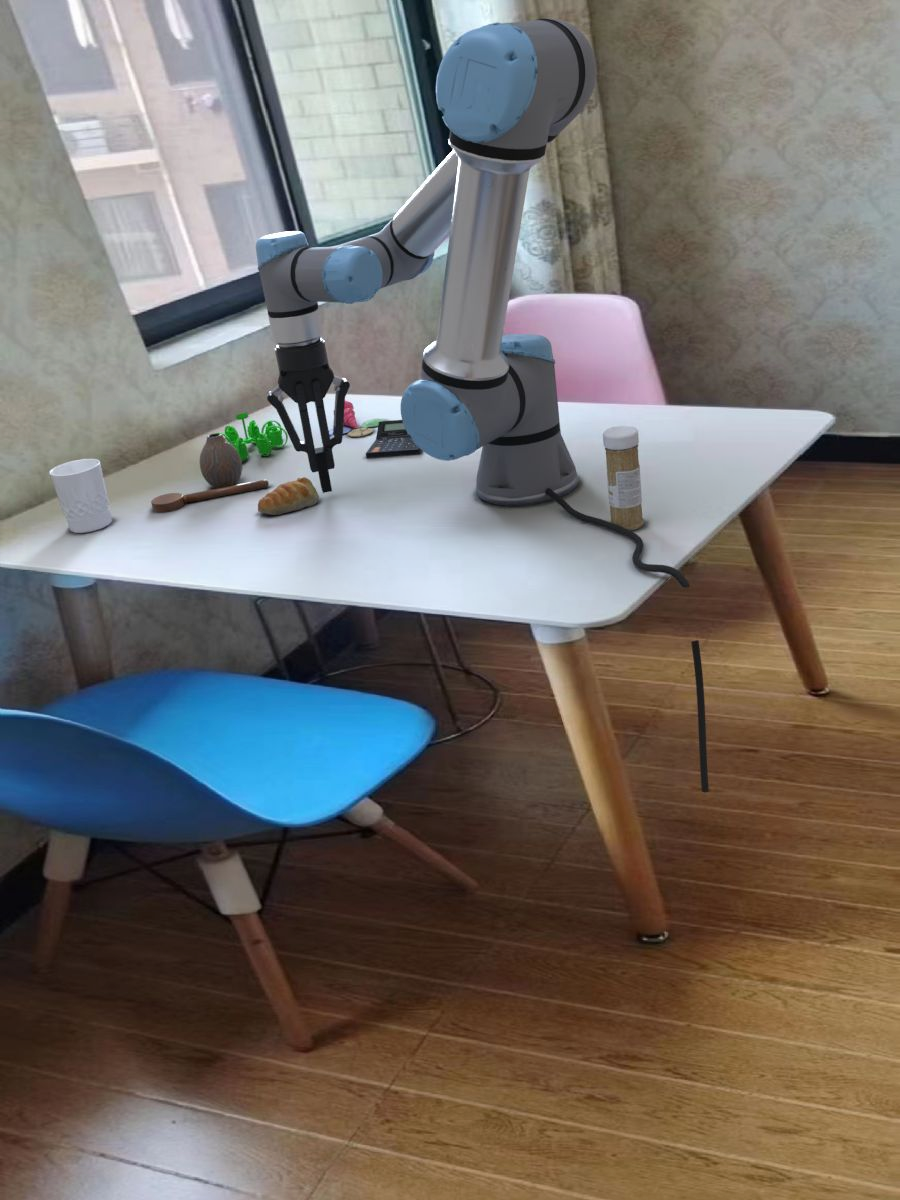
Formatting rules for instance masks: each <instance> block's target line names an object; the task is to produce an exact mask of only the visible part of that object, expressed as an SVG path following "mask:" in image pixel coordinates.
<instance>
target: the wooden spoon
mask: <svg viewBox="0 0 900 1200" xmlns="http://www.w3.org/2000/svg"><path fill="white" fill-rule="evenodd" d="M269 484H270V483H269V481H268V480H267V479H259V480H253V481H249V482H243V483H239V484H235V485H233V486H228V487H223V488H212V489H208V490H203V491H197V492H192V493H187V494H184V495H183V494H182V493H179V492H169V493H164V494H162V495H161V494H160V495H158V496H156V497H154V498H153V499H152V500H151V501H150V504H151V507H152V510H153V512H155V513H168V512H172V511H176V510H179V509H180V508H182V507H183V506H184V505H186V504H190V503H195V502H200V501H204V500H205V501H206V500H210V499H216V498H221V497H226V496H231V495H235V494H240V493H241V494H242V493H245V492H251V491H252V492H253V491H256V490H257V491H258V490H262V489H267V488H268V487H269V486H270V485H269Z"/></svg>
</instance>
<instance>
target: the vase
mask: <svg viewBox="0 0 900 1200" xmlns="http://www.w3.org/2000/svg"><path fill="white" fill-rule="evenodd" d="M221 433H222V432H221ZM221 433H216V432H213V433H210V434H208V435H207V436H206V441H205V443H204V444H203V447H202V449H201V452H200V455H199V467H200V472H201V474H202V477H203V479H204V480H205V482H206V483H207V484H208V485H210V486H211V487H213V488H214V489H218V488H223V487H228V486H233V485H237V483H238V482H239V480H240V479H241V476H242V473H243V466H242V465H243V462H241V458H240V455H239V453H238V451H237V450H236V448H235V447H234V446H233V445H232V444H231V443H230V442H228V441H227V440H226V439H225V438H226V437H225V436H223V435H222V434H221Z"/></svg>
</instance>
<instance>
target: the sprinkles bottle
mask: <svg viewBox="0 0 900 1200" xmlns="http://www.w3.org/2000/svg"><path fill="white" fill-rule="evenodd" d="M602 441H603V442H602V443H603V447H604V450H605V459H606V477H607V478H606V480H607V492H608V504H609V512H610V521H609V522H610V523H613V524H615V525H618V526H621V527H623V528H626V529H628V530H630V531H634V530H638V529H639V528H641V527H642V526H643V525H644V523H645V522H644V521H645V520H644V518H643V509H642V508H643V507H642V502H643V498H642V483H641V482H642V481H641V465H640V461H639V443H640V438H639V430H638V429H637V428H636V427H634V426H631V425H617V426H612V427H610V428H607V429H606V430H604V431H603V433H602Z"/></svg>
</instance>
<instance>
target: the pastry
mask: <svg viewBox="0 0 900 1200" xmlns="http://www.w3.org/2000/svg"><path fill="white" fill-rule="evenodd" d="M319 498H320V495H319V493H318V491H317V488H316V487H315V486H314V485H313V483H312V481H311V479H309V478H308V477H305V476H303V477H298V478H297V479H296V480H291V481H286V482H284V483H281V484H279V485H277V486H276V488H274V489H273V490H272V491H270V492H268V493H266V494H265V495H264V496H263V497H261V499H259V500H258V503H257V511H258V512H259V513H261V514H265V515H272V516H276V515H277V516H280V515H282V514H285V513H286V514H287V513H291V512H296V511H299V510H302V509H304V508H305V507H306V508H307V507H308V508H309V507H312V506H314V505H315V504H317V503H318V502H319V501H318V500H319Z"/></svg>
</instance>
